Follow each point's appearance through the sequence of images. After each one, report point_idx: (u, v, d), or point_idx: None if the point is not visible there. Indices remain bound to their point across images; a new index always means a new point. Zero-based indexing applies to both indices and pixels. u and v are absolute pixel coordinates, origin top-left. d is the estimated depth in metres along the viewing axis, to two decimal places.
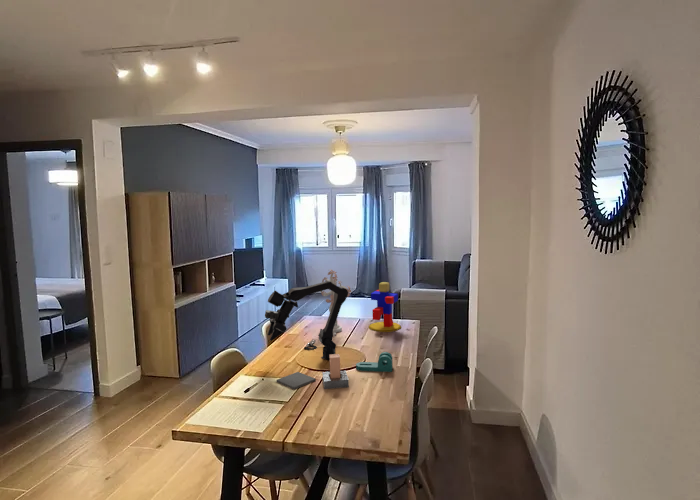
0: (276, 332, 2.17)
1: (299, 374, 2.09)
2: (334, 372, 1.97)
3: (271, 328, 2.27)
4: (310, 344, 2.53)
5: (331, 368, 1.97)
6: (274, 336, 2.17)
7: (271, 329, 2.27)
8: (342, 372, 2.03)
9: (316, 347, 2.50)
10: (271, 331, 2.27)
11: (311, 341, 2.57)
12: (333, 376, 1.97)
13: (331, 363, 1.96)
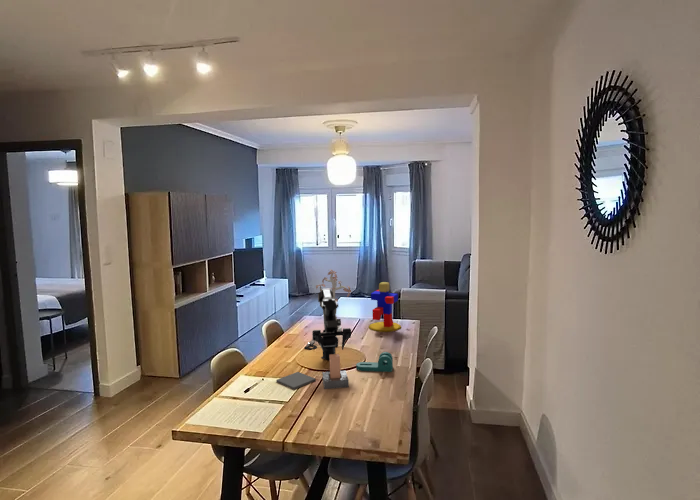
0: None
1: (299, 374, 2.09)
2: (334, 372, 1.97)
3: (322, 343, 2.07)
4: (310, 344, 2.54)
5: (331, 368, 1.97)
6: None
7: (322, 344, 2.07)
8: (342, 372, 2.03)
9: (316, 347, 2.51)
10: None
11: (311, 341, 2.57)
12: (333, 376, 1.97)
13: (331, 363, 1.96)
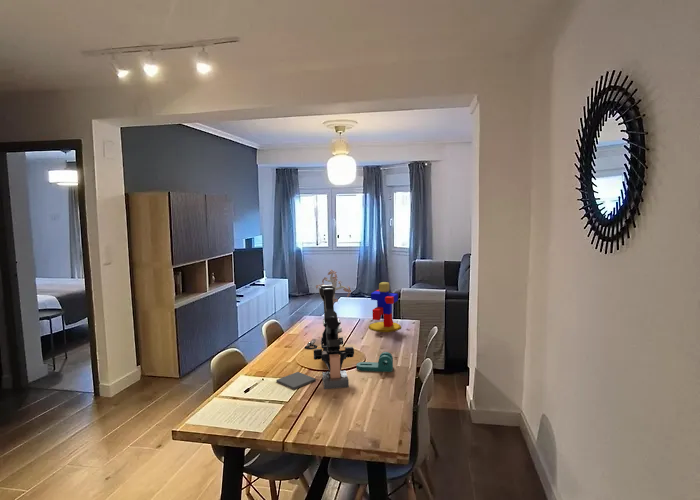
0: None
1: (299, 374, 2.09)
2: (334, 372, 1.97)
3: None
4: (311, 343, 2.55)
5: (331, 368, 1.97)
6: None
7: None
8: (342, 372, 2.03)
9: (317, 346, 2.52)
10: (329, 366, 1.99)
11: (312, 340, 2.58)
12: (333, 376, 1.97)
13: (331, 363, 1.96)
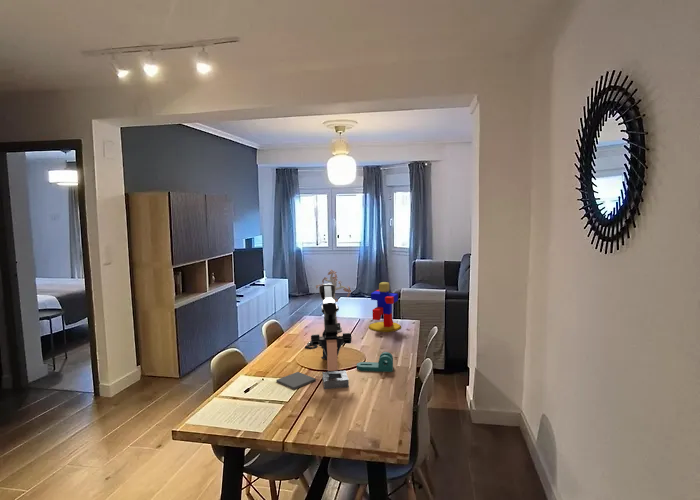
0: None
1: (299, 374, 2.09)
2: (331, 357, 1.96)
3: (326, 348, 1.99)
4: (310, 343, 2.55)
5: (328, 353, 1.96)
6: None
7: None
8: (342, 372, 2.03)
9: (317, 346, 2.52)
10: (326, 351, 1.99)
11: None
12: (330, 361, 1.96)
13: (327, 349, 1.96)
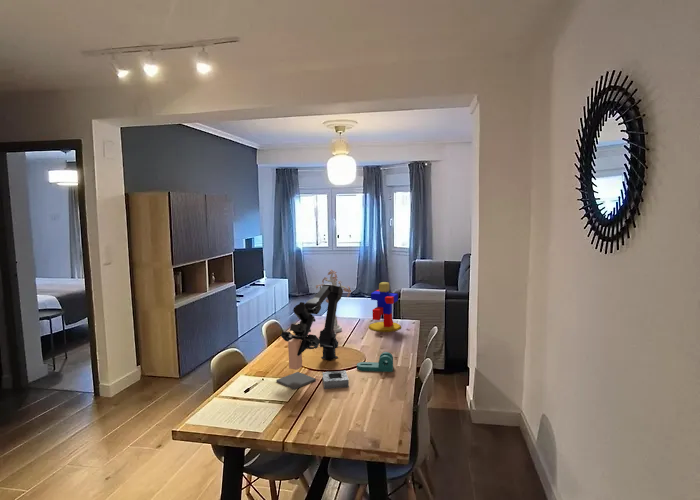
0: (304, 346, 2.02)
1: (299, 374, 2.09)
2: (291, 356, 2.00)
3: None
4: (311, 343, 2.55)
5: (289, 351, 2.00)
6: (302, 350, 2.01)
7: None
8: (342, 372, 2.03)
9: (317, 346, 2.52)
10: None
11: None
12: (290, 359, 2.00)
13: (288, 347, 2.00)
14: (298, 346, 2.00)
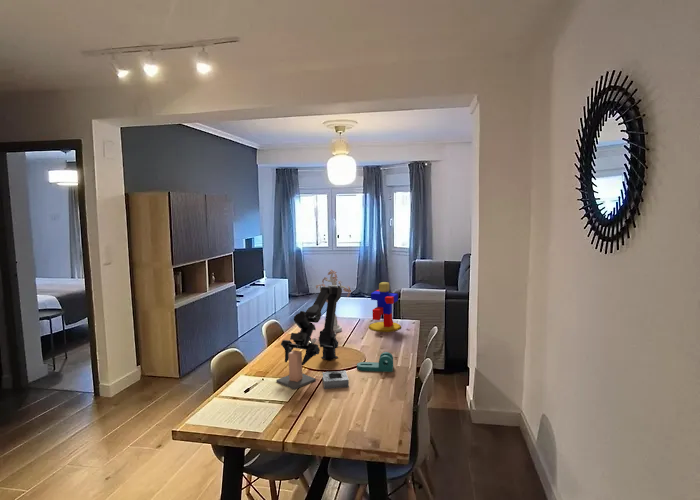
0: (308, 355, 2.01)
1: None
2: (292, 368, 2.00)
3: None
4: None
5: (289, 363, 2.01)
6: (306, 360, 2.00)
7: (287, 355, 2.05)
8: (342, 372, 2.03)
9: None
10: (287, 357, 2.04)
11: (312, 340, 2.59)
12: (291, 371, 2.01)
13: (289, 359, 2.01)
14: (298, 358, 2.00)
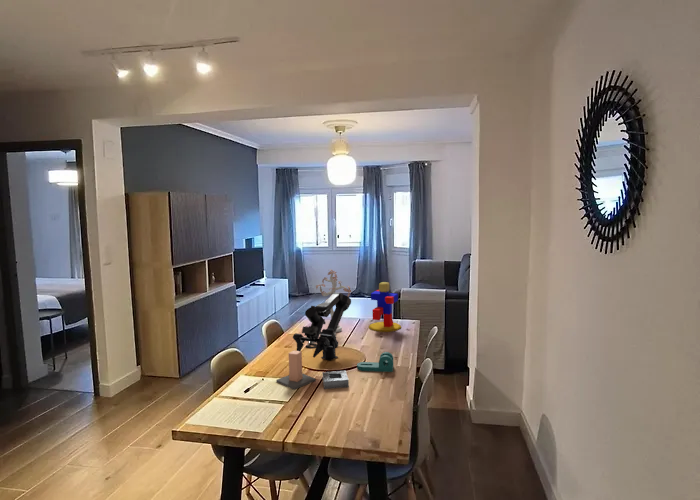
0: (319, 348, 2.10)
1: None
2: (292, 368, 2.00)
3: (299, 347, 2.14)
4: (311, 342, 2.56)
5: (289, 363, 2.01)
6: (317, 352, 2.09)
7: (299, 348, 2.14)
8: (342, 372, 2.03)
9: None
10: (299, 350, 2.14)
11: None
12: (291, 371, 2.01)
13: (289, 359, 2.01)
14: (298, 358, 2.00)
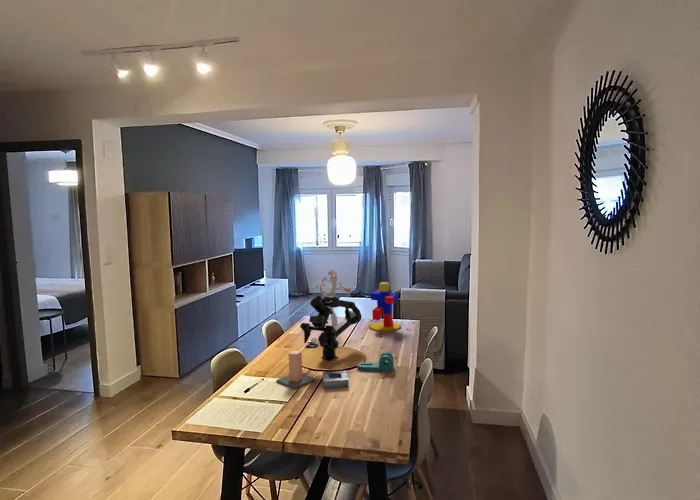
0: (326, 336, 2.18)
1: None
2: (292, 368, 2.00)
3: (306, 335, 2.21)
4: (311, 342, 2.57)
5: (289, 363, 2.01)
6: (324, 340, 2.17)
7: (306, 337, 2.21)
8: (342, 372, 2.03)
9: (317, 345, 2.54)
10: (306, 339, 2.21)
11: (312, 339, 2.60)
12: (291, 371, 2.01)
13: (289, 359, 2.01)
14: (298, 358, 2.00)
